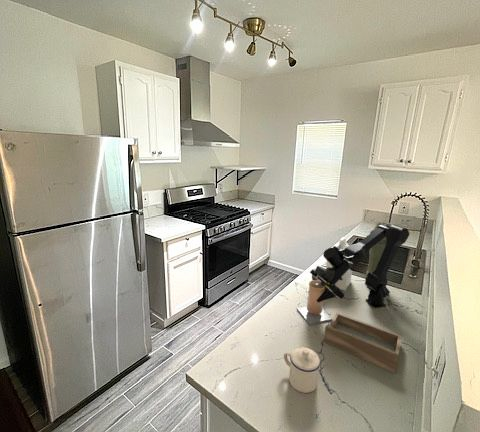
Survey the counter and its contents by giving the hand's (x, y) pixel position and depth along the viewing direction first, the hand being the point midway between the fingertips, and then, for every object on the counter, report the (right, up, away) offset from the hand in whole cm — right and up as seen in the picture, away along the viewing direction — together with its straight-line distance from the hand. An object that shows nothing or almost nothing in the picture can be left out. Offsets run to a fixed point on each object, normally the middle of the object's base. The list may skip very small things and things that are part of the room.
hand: (313, 297), depth 114 cm
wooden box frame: (+15, -13, -14) cm, 24 cm away
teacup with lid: (-13, -17, -30) cm, 37 cm away
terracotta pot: (+1, -6, +3) cm, 7 cm away
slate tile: (+1, -9, +3) cm, 9 cm away
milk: (+22, -2, +31) cm, 39 cm away
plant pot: (+10, -4, +22) cm, 25 cm away
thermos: (+41, -3, +29) cm, 51 cm away
